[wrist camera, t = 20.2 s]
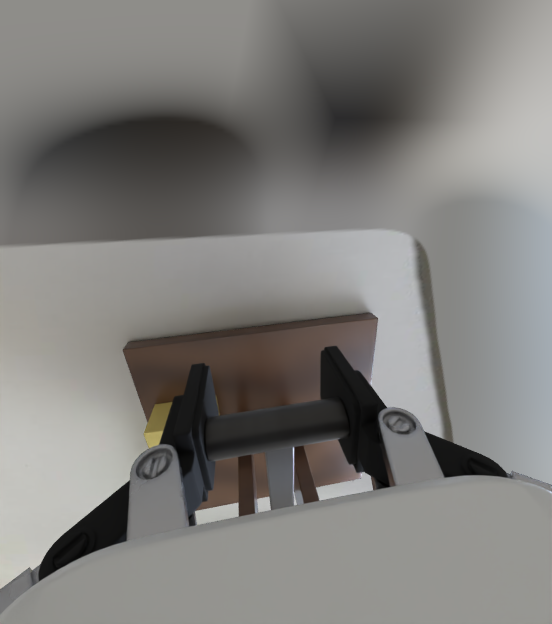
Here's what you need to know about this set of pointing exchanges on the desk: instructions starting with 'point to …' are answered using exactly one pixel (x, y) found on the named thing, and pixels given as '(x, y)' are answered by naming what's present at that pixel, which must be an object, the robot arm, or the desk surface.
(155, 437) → the butter
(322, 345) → the slicer
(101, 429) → the desk surface
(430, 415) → the desk surface
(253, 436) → the lever
